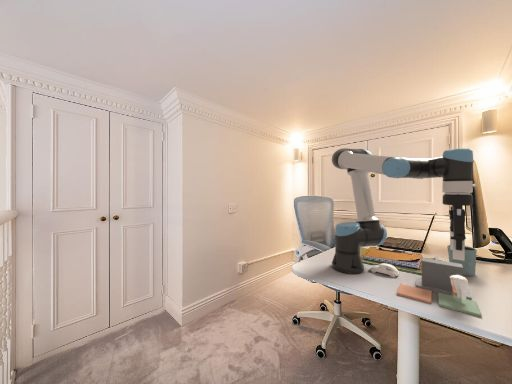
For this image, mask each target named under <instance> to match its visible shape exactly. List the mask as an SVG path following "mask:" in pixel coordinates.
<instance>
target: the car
mask: <svg viewBox="0 0 512 384" xmlns="http://www.w3.org/2000/svg"><path fill="white" fill-rule="evenodd" d="M368 269H369V271H371V273H373V274H374V273H376V272H377V273H381V274H385V275H388V276H390V277H391V278H395V277H398V276H399V275H400V271H399V270H398V269H397V268H396V267H395V266H394V264H390V263H386V262H385V263H384V262H383V263H382V262H381V263H380V264H378V265H376V264H375V265H374V264H373V265H371V266H369V268H368Z"/></svg>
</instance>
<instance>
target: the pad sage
mask: <svg viewBox="0 0 512 384" xmlns="http://www.w3.org/2000/svg"><path fill="white" fill-rule="evenodd" d="M437 294H438V306H439V307H442V308H445V309H450V310H453V311H456V312H457V311H458V312H461V313H465V314H468V315H472V316H476V317H478V318H479V317H480V318H482V317H483V316H482V312H481V309H480V307H479V304H478V302H477V301H476V300H473V299H472V300H468V299H466V304H458V303H455V302H454V301H453V300H452V296H451V295H447V294H442V293H438V292H437Z"/></svg>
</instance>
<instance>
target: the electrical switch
mask: <svg viewBox="0 0 512 384" xmlns="http://www.w3.org/2000/svg"><path fill="white" fill-rule="evenodd" d="M429 259H434V260H440V259H439V257H438V256H437V255H435V256H434V257H432V258H431V257H430V258H429Z"/></svg>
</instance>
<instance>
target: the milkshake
mask: <svg viewBox="0 0 512 384" xmlns="http://www.w3.org/2000/svg"><path fill="white" fill-rule="evenodd" d="M449 277H450V283H451V292H452V300H453V301H454V302H455V303H458V304H466V295H467V289H468V284H469V280H468V279H467V278H466V277H465V276H464V275H463V276H460V275H452V276H449Z"/></svg>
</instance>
